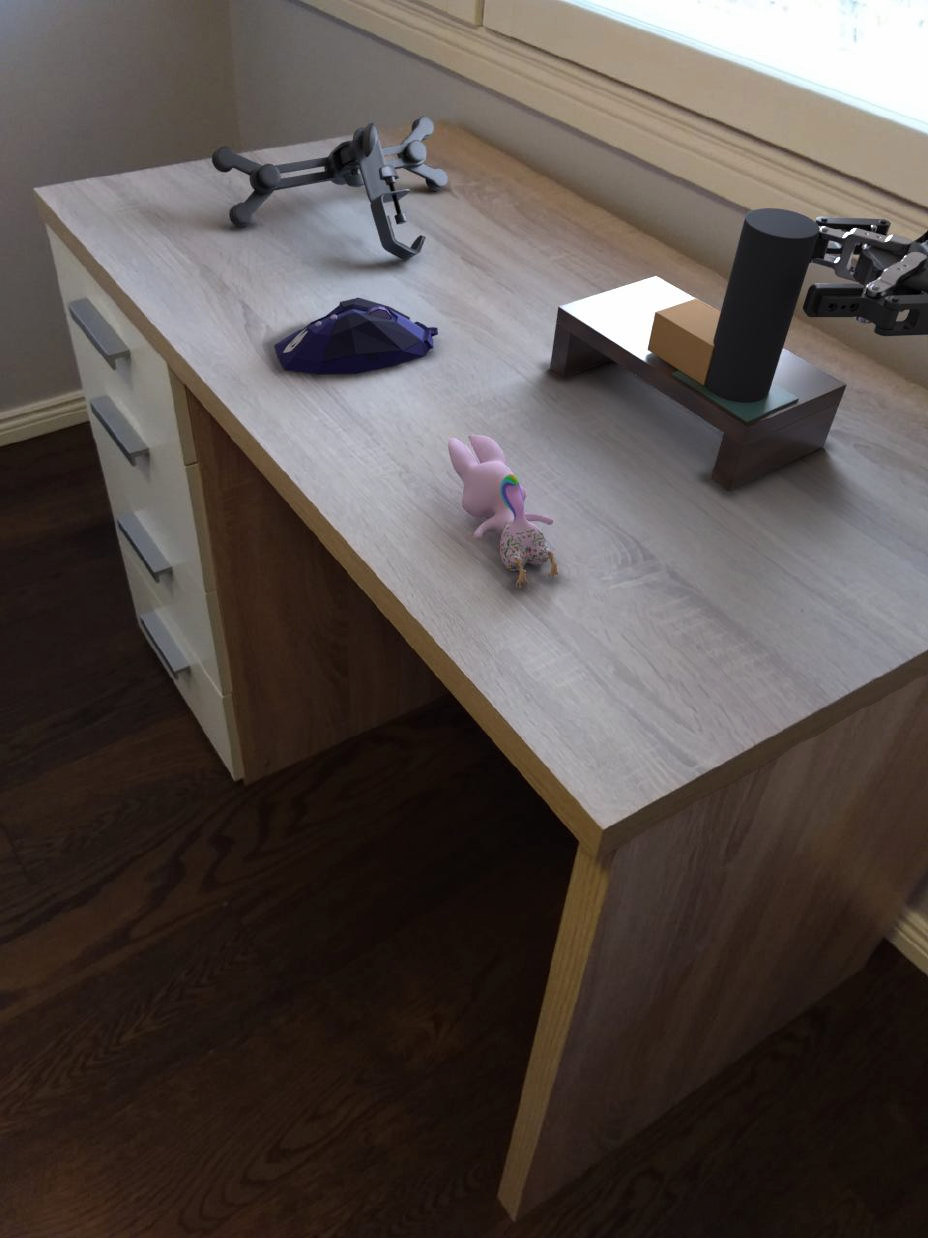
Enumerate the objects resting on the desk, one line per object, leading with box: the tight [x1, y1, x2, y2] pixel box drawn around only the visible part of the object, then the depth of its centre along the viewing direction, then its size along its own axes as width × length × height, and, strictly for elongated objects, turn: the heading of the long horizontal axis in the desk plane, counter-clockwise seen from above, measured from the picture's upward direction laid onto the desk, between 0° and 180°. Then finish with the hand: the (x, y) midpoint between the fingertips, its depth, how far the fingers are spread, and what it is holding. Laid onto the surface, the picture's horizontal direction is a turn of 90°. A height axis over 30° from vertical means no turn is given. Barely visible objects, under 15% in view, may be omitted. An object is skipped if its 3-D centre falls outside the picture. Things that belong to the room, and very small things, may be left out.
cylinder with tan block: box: [647, 207, 819, 402], centre depth 78 cm, size 10×5×13 cm, turn 37°
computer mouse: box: [274, 297, 439, 375], centre depth 92 cm, size 9×15×4 cm, turn 108°
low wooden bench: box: [549, 275, 848, 492], centre depth 87 cm, size 22×12×6 cm, turn 37°
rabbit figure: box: [447, 434, 560, 588], centre depth 74 cm, size 6×6×15 cm
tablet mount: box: [211, 115, 449, 261], centre depth 109 cm, size 27×14×17 cm
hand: (786, 272), depth 74 cm, fingers open, 8 cm apart
